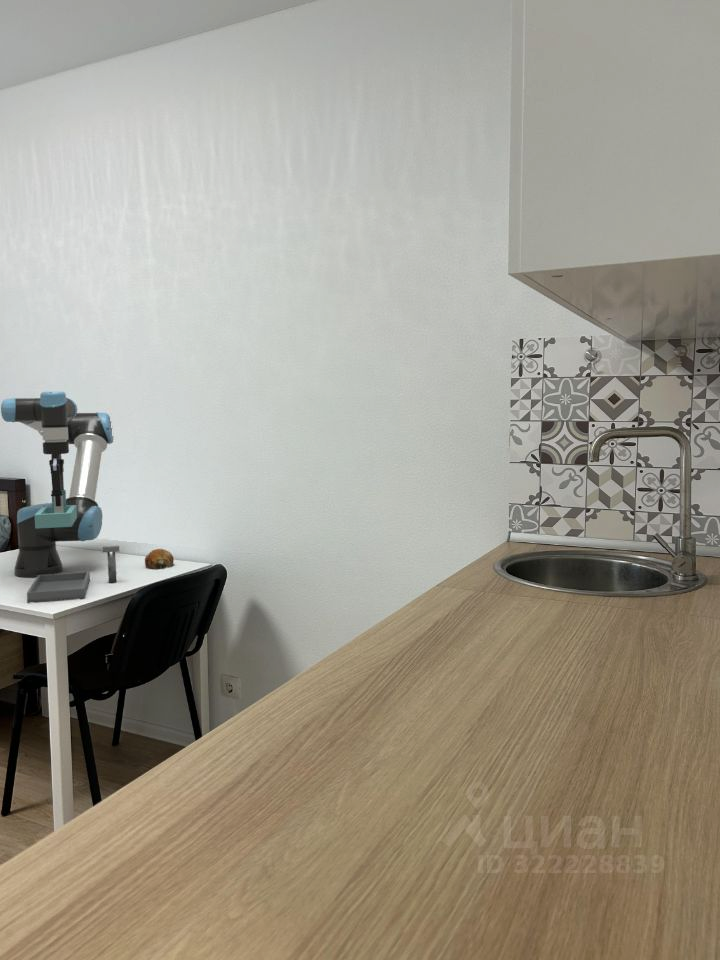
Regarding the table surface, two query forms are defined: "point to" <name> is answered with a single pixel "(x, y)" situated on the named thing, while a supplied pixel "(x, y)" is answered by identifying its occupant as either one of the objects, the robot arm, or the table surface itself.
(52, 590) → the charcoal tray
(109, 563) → the t stake
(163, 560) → the bread roll
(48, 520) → the teal boxy piece
